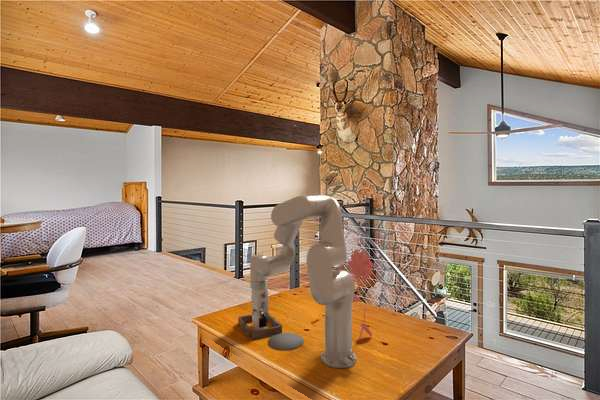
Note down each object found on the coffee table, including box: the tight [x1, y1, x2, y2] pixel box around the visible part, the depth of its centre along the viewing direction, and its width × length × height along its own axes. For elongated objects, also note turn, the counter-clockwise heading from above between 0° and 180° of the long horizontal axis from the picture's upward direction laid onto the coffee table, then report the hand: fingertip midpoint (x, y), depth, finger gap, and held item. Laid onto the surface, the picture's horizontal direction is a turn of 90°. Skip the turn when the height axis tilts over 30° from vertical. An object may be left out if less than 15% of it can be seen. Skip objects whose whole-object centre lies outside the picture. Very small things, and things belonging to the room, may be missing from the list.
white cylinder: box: [251, 309, 267, 331], centre depth 147 cm, size 7×7×7 cm
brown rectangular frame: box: [237, 312, 283, 341], centre depth 147 cm, size 18×14×3 cm
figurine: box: [336, 248, 385, 346], centre depth 143 cm, size 15×26×35 cm, turn 41°
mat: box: [267, 332, 305, 351], centre depth 134 cm, size 14×14×1 cm
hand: (259, 323), depth 147 cm, fingers open, 7 cm apart
